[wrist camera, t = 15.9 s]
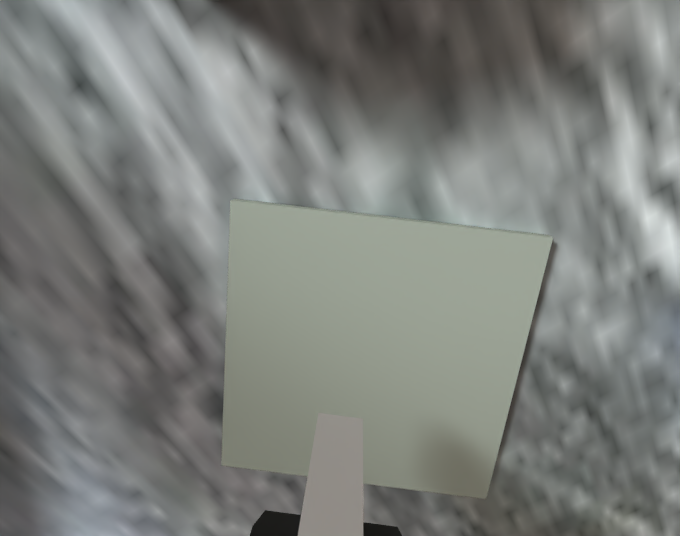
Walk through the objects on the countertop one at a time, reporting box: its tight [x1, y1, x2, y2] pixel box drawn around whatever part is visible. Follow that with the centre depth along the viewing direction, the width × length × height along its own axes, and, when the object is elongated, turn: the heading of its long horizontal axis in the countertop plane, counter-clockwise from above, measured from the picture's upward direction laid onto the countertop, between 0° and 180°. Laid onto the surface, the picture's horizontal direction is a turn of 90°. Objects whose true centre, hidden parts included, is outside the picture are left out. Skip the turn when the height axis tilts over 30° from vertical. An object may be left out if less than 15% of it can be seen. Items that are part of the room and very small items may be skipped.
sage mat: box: [221, 199, 553, 499], centre depth 20 cm, size 14×14×1 cm
